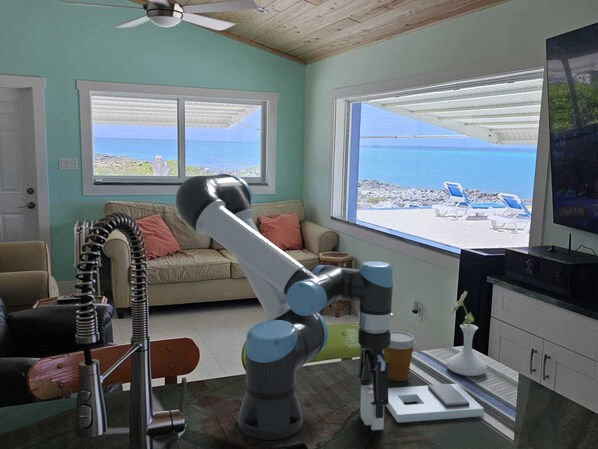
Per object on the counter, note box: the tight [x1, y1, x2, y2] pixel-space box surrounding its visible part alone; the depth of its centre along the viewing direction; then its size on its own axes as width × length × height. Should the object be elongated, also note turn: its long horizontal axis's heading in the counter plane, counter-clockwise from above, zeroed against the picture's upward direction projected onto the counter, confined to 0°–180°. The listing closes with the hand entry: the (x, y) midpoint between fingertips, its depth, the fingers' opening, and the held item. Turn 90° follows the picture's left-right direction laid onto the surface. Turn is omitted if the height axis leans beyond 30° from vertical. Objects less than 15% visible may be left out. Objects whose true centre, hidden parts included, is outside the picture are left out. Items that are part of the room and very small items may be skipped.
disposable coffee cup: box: [383, 330, 416, 382], centre depth 152 cm, size 10×10×12 cm
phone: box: [427, 383, 469, 408], centre depth 136 cm, size 6×11×1 cm, turn 10°
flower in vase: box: [446, 290, 488, 377], centre depth 155 cm, size 13×11×25 cm
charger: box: [360, 384, 374, 426], centre depth 127 cm, size 4×4×8 cm
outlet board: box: [385, 383, 485, 423], centre depth 135 cm, size 22×14×2 cm, turn 100°
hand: (371, 419), depth 128 cm, fingers open, 8 cm apart
